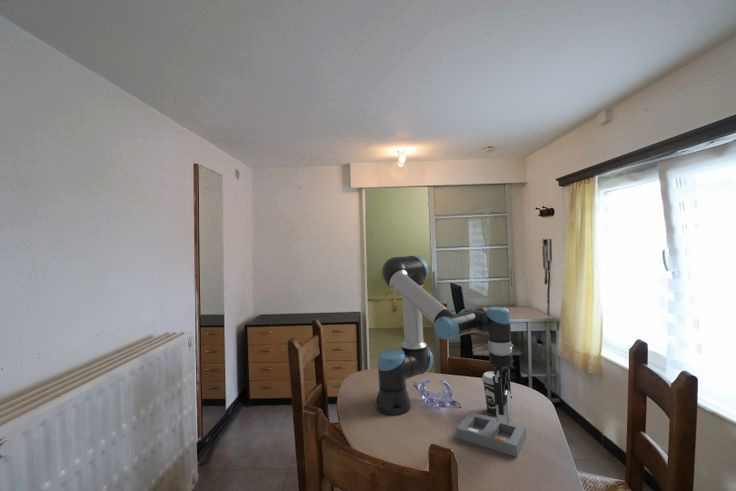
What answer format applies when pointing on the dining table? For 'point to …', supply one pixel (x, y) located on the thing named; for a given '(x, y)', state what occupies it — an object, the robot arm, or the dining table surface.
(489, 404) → the coffee cup
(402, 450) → the dining table surface
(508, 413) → the plug
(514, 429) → the socket board
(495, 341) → the robot arm
